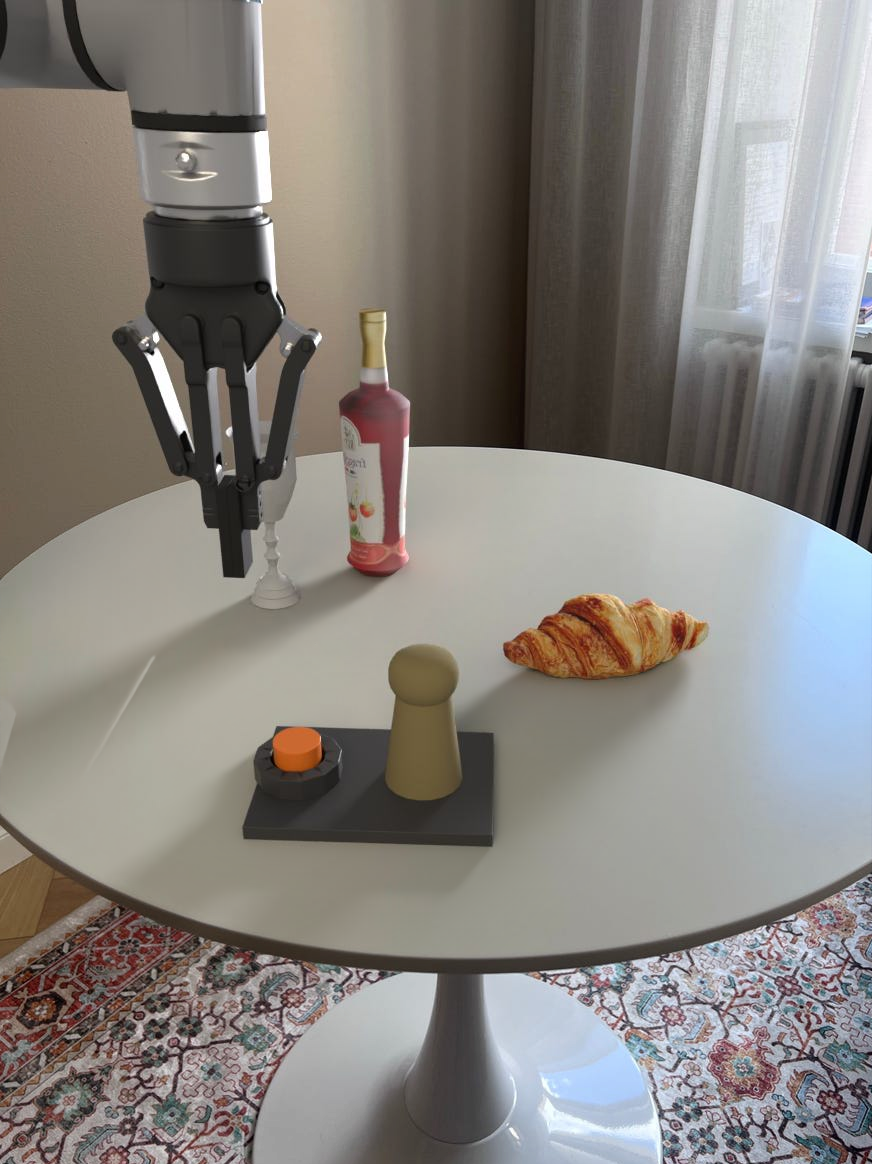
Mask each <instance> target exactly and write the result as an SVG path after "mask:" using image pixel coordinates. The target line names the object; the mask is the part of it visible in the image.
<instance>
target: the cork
mask: <svg viewBox="0 0 872 1164" xmlns="http://www.w3.org/2000/svg"><path fill="white" fill-rule="evenodd" d="M387 669H388V670H387V676H388V684H389V688H390V689H391V691H392V693H393V694H394V697H395V698H394V705H393V713H392V718H391V720H392V721H391V727H390V729H391V734H390V741H389V749H388V756H387V764H386V771H385V782H386V783H387V785H388V787H389V788H390V789H391V790H392V791H393V792H394V793H396V794H397V795H400V796H402V797H405V798H408V799H413V800H434V799H438V798H442V797H445V796H447V795H449V794H451V793H453V792H454V791H455V790H456V789H457V788H458V787H459V786H460V784H461V782H462V779H463V777H462V769H461V761H460V754H459V747H458V740H457V732H458V731H457V727H456V726H457V725H456V720H455V719H456V718H455V712H454V711H455V710H454V703H453V695H454V693H455V691H456V689H457V688H458V684H459V682H460V668H459V665H458V661H457V659H456V658H455V656H454V655H453V654H452V652H451V651H450V650H448V649H446V648H445V647H443V646H439V645H436V644H431V643H416V644H410V645H408V646H405V647H402V648H400V649H399V650H398V651H396V652H395V654H394V655H393V656H392V658H391V660H390V661H389V664H388V668H387Z"/></svg>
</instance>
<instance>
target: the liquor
mask: <svg viewBox="0 0 872 1164" xmlns="http://www.w3.org/2000/svg"><path fill="white" fill-rule="evenodd" d="M358 329H359V333H360V338H361V342H362V343H361V344H362V345H361V359H360V371H359V372H360V374H359V387H358V388H355V389H353V390H350V391H349V392H347V393H346V395H344V396H343V397H342V398H341V399H339V401H338V409H339V420H340V435H341V449H342V457H343V467H344V476H345V486H346V498H347V510H348V511H347V512H348V513H347V514H348V526H349V527H348V528H349V541H350V551H349V553H348V554H347V557H346V561H347V563H348V564H349V565H351V566H352V567H353V568H354V569H356V570H357V571H358V572H359V573H360V574H362V575H364V576H366V577H367V576H368V577H373V578H382V577H388V576H392V575H394V574H395V573H396V572H398V571H399V570H400V569H401V568H403V567H404V565H406V564H407V563H408V562H409V559H410V557H409V554H408V552H407V550H406V512H407V511H406V507H407V483H408V465H409V447H410V446H409V445H410V444H409V443H410V419H411V418H410V414H411V401H410V400H409V399H408V398H406V396H405V395H403V394H402V393H401V392H399V391H398V390H395V389H393V388H390V385H389V375H388V365H387V355H386V348H385V342H386V341H385V340H386V334H387V311H386V309H381V308H372V307H371V308H362V309H359V310H358Z"/></svg>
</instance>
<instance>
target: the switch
mask: <svg viewBox="0 0 872 1164" xmlns="http://www.w3.org/2000/svg"><path fill="white" fill-rule="evenodd" d="M306 727H307V726H293V728H288V729H285V730H283V731H281V732H279V733H278V734H277V735H276V736H275V737H274V739H273V753H274V762H275V765H276V766H277V767H278V768H279V769H281V770H284V771H297V772H301V771H304V770H308V769H311V768H315V767H316V766H317V765H318V764H319V763H320V762H321V759H322V752H321V737H320V735H319V734H318V733H317V732H316V731H315V730H313V729H310V728H306Z"/></svg>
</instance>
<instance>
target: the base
mask: <svg viewBox="0 0 872 1164" xmlns="http://www.w3.org/2000/svg"><path fill="white" fill-rule="evenodd" d="M293 727H294V726H290V725H276V726H275V729H274V732H273V735H272V736H271V738H269V739H267V740H266V741H265V742H264V743H262V744H260V745H259V746H258V747H257V749H256V751H255V755H254V758H253V761H252V762H253V771H254V772H253V773H254V780H255V782H256V786H255V789H254V792H253V795H252V798H251V801H250V803H249V807H248V809H247V812H246V815H245V818H244V820H243V821H244V822H243V824H242V828H241V829H242V836H243V840H250V841H251V840H253V841H257V840H258V841H284V842H285V841H287V842H318V843H320V842H322V843H323V842H324V843H351V844H353V843H354V844H383V845H412V846H413V845H415V846H416V845H418V846H419V845H420V846H449V847H477V848H479V847H480V848H481V847H482V848H492V847H493V839H494V732H489V731H487V732H485V731H456V732H457V740H458V747H459V754H460V761H461V769H462V777H463V779H462V782H461V784H460V786H459V787H458V788H457V789H456V790H455V791H454V792H453V793H451V794H449V795H447V796H445V797H442V798H438V799H434V800H413V799H408V798H405V797H402V796H400V795H397V794H396V793H394V792H393V791H392V790H391V789H390V788H389V787H388V785H387V783H386V782H385V771H386V764H387V756H388V749H389V741H390V734H391V728H389V729H388V728H387V729H386V728H354V727H353V728H352V727H323V726H305V727H306V728H310V729H313V730H315V731H316V732H317V733H318V734H319V735H320V737H321V752H322V759H321V762H320V763H319V764H318V765H317V766H316V767H315V768H311V769H308V770H304V771H301V772H297V771H284V770H281V769H279V768H278V767H277V766H276V765H275V762H274V753H273V739H274V737H275V736H276V735H277V734H278V733H279V732H281V731H283V730H285V729H288V728H293Z"/></svg>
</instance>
